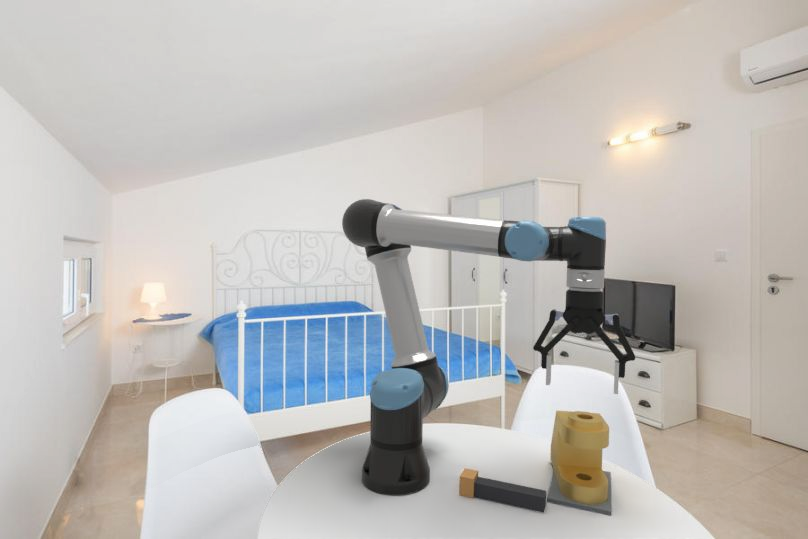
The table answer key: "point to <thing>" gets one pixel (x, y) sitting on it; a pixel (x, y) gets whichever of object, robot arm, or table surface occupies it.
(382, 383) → the robot arm
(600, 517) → the table surface
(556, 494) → the mat
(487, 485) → the dark grey bar
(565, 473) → the gold clevis bracket
